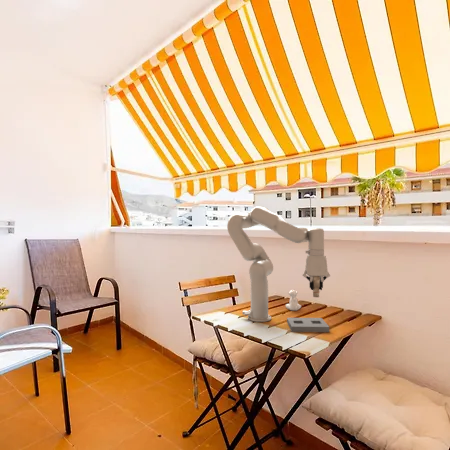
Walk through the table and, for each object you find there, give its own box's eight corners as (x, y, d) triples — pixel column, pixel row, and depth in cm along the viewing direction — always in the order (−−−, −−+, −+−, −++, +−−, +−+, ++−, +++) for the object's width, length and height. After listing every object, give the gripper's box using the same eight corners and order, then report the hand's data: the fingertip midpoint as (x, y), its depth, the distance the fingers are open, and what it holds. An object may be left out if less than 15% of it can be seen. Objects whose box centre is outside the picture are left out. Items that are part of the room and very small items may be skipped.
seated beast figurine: (301, 307, 197) (301, 288, 197) (302, 311, 188) (302, 291, 188) (285, 307, 198) (285, 287, 198) (286, 311, 190) (285, 290, 190)
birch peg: (313, 297, 159) (313, 273, 159) (311, 295, 163) (311, 272, 162) (320, 297, 159) (320, 273, 159) (318, 295, 162) (318, 272, 162)
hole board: (291, 331, 155) (291, 326, 155) (287, 322, 169) (287, 317, 169) (329, 332, 154) (329, 326, 154) (321, 322, 168) (321, 317, 168)
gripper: (300, 253, 157) (300, 291, 157) (335, 253, 156) (335, 291, 157) (298, 252, 164) (298, 287, 165) (330, 252, 164) (330, 288, 164)
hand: (316, 289), depth 161 cm, fingers closed on birch peg, 3 cm apart
